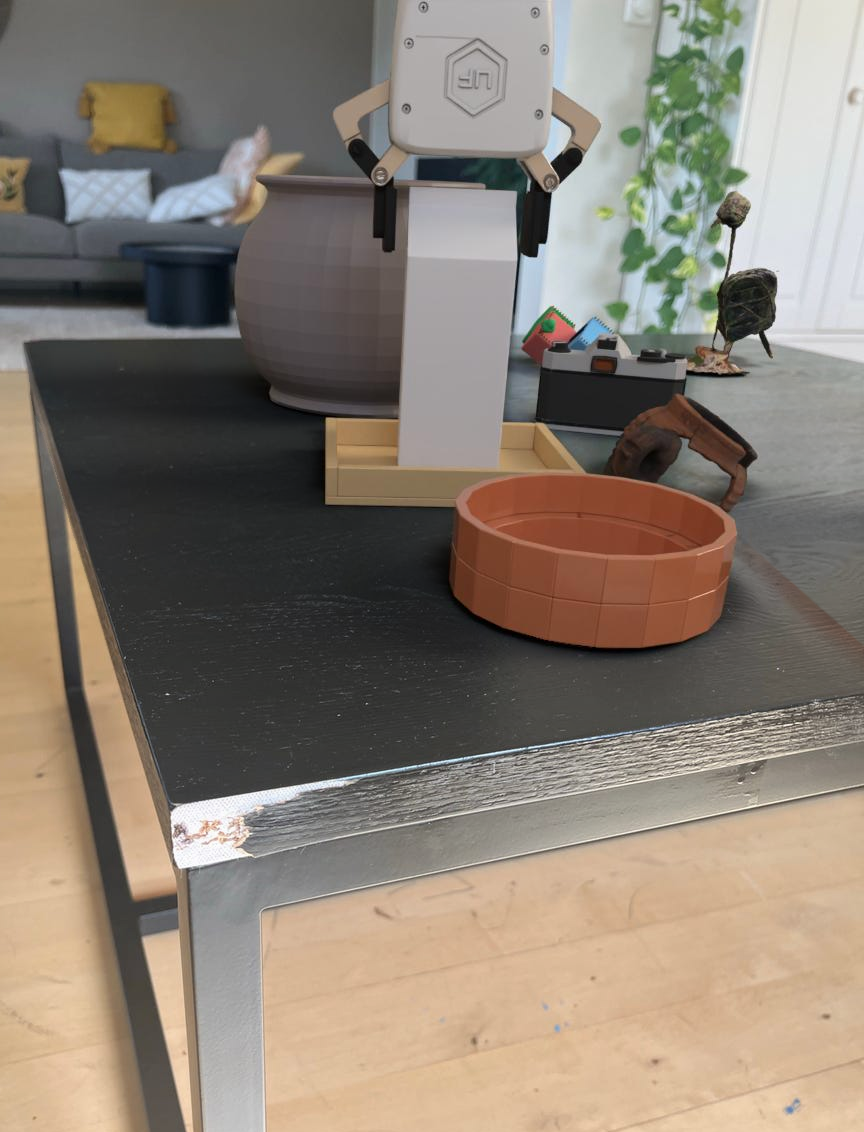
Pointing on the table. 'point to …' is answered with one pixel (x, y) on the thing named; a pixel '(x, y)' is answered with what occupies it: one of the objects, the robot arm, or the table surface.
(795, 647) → the table surface
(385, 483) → the tray
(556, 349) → the camera
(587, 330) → the building blocks
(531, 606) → the bowl
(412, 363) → the milk carton
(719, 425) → the brown curved piece
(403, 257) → the round clay pot
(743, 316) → the plant with pod
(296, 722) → the table surface
